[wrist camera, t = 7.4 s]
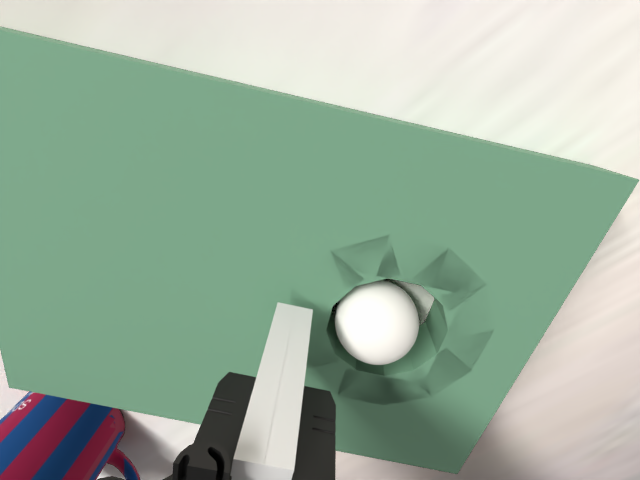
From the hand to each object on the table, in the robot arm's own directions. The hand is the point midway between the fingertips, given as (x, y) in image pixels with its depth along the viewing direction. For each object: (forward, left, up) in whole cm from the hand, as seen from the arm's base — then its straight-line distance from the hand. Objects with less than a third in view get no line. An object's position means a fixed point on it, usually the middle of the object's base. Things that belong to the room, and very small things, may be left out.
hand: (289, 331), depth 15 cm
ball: (+3, 0, -4) cm, 5 cm away
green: (-2, 0, -4) cm, 4 cm away
